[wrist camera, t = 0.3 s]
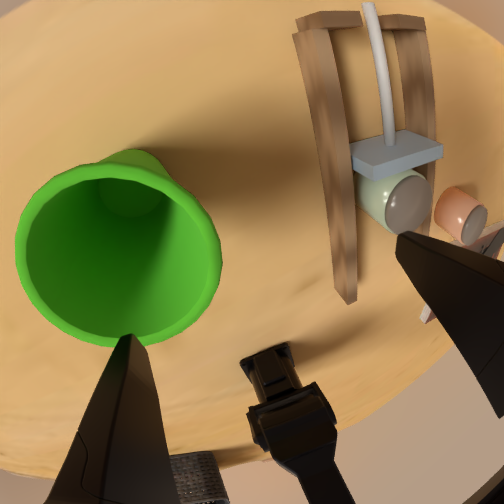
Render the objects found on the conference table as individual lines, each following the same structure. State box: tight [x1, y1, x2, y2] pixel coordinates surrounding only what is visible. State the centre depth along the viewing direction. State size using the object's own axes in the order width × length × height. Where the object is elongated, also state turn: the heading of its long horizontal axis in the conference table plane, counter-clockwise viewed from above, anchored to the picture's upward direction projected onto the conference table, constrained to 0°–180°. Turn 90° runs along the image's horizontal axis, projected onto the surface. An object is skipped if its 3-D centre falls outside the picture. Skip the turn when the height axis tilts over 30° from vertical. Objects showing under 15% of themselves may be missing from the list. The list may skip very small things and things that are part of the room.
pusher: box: [349, 2, 443, 182], centre depth 17 cm, size 13×8×5 cm, turn 15°
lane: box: [292, 11, 436, 305], centre depth 22 cm, size 27×11×4 cm, turn 15°
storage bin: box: [169, 451, 230, 504], centre depth 49 cm, size 29×19×13 cm
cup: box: [15, 149, 223, 347], centre depth 15 cm, size 9×9×11 cm
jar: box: [434, 187, 487, 246], centre depth 29 cm, size 6×6×5 cm
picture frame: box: [420, 220, 504, 324], centre depth 42 cm, size 16×2×22 cm
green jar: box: [353, 169, 432, 235], centre depth 23 cm, size 6×6×5 cm
